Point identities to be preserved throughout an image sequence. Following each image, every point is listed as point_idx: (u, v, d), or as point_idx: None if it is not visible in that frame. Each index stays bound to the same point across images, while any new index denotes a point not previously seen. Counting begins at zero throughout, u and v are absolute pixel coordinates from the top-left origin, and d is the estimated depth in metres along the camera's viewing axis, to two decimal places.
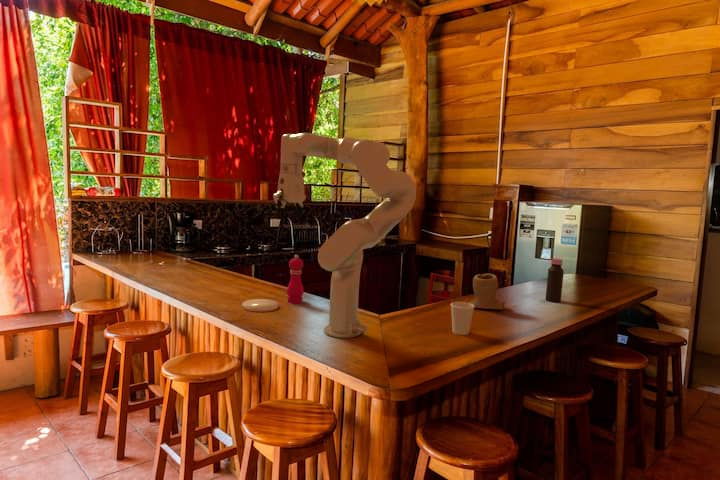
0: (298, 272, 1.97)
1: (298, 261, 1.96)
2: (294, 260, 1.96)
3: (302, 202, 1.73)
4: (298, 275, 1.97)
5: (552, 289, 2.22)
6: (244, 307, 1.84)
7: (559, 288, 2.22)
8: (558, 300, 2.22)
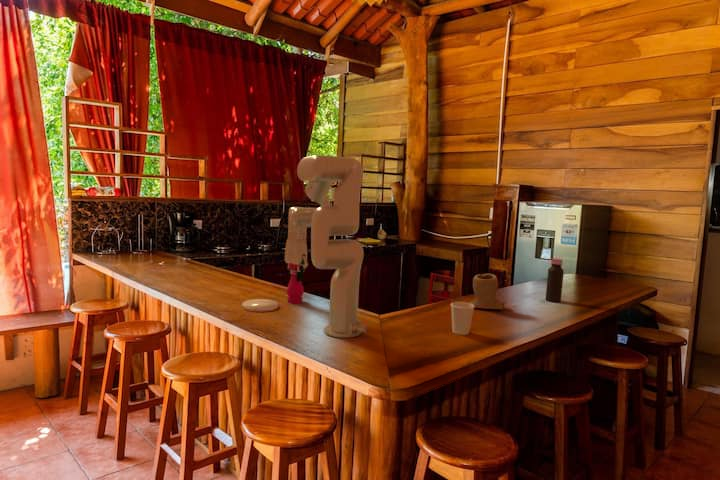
0: None
1: None
2: None
3: None
4: None
5: (552, 289, 2.22)
6: (244, 307, 1.84)
7: (559, 288, 2.22)
8: (558, 300, 2.22)
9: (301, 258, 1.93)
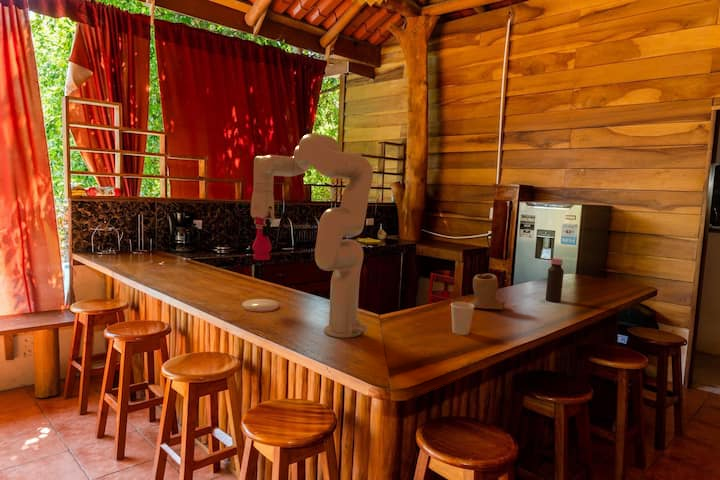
0: None
1: None
2: None
3: (267, 220, 1.81)
4: None
5: (552, 289, 2.22)
6: (244, 307, 1.84)
7: (559, 288, 2.22)
8: (558, 300, 2.22)
9: (267, 210, 1.80)
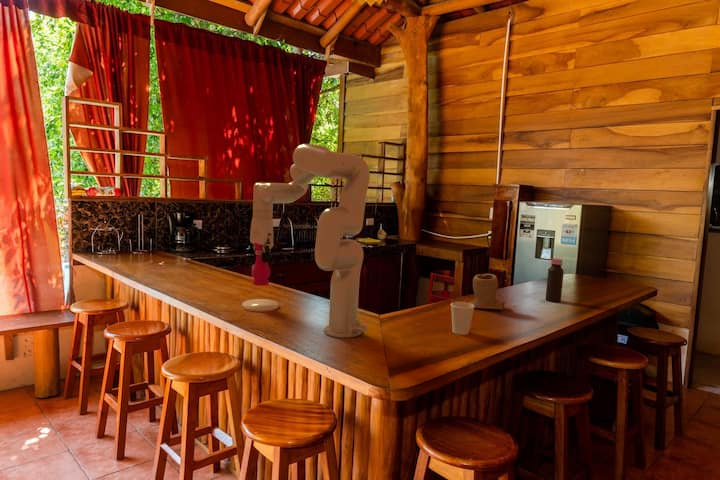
0: None
1: None
2: None
3: (266, 247, 1.82)
4: None
5: (552, 289, 2.22)
6: (244, 307, 1.84)
7: (559, 288, 2.22)
8: (558, 300, 2.22)
9: (266, 237, 1.81)
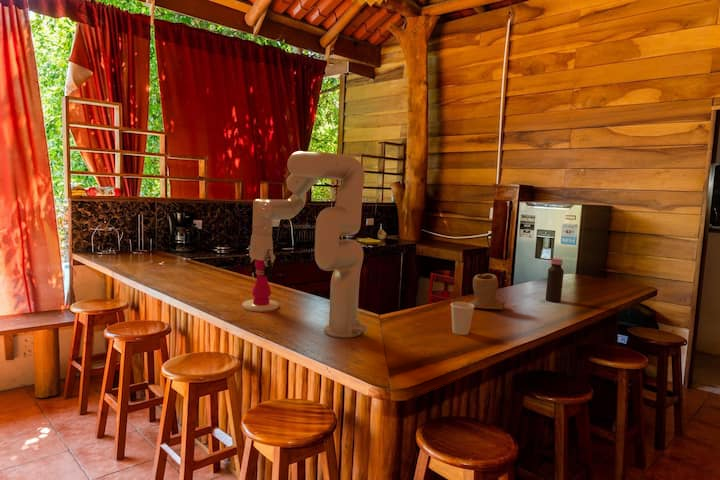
0: None
1: None
2: None
3: (268, 262, 1.81)
4: None
5: (552, 289, 2.22)
6: (244, 307, 1.84)
7: (559, 288, 2.22)
8: (558, 300, 2.22)
9: (266, 253, 1.82)
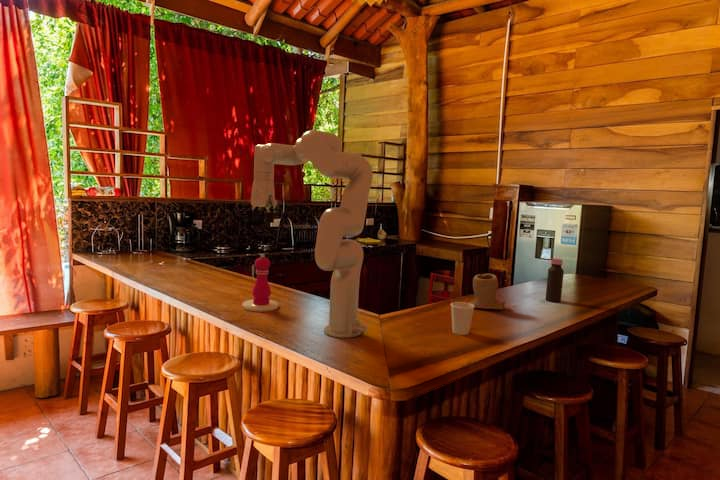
0: (264, 272, 1.84)
1: (264, 260, 1.84)
2: (260, 259, 1.84)
3: (270, 207, 1.79)
4: (264, 275, 1.85)
5: (552, 289, 2.22)
6: (244, 307, 1.84)
7: (559, 288, 2.22)
8: (558, 300, 2.22)
9: (268, 199, 1.79)
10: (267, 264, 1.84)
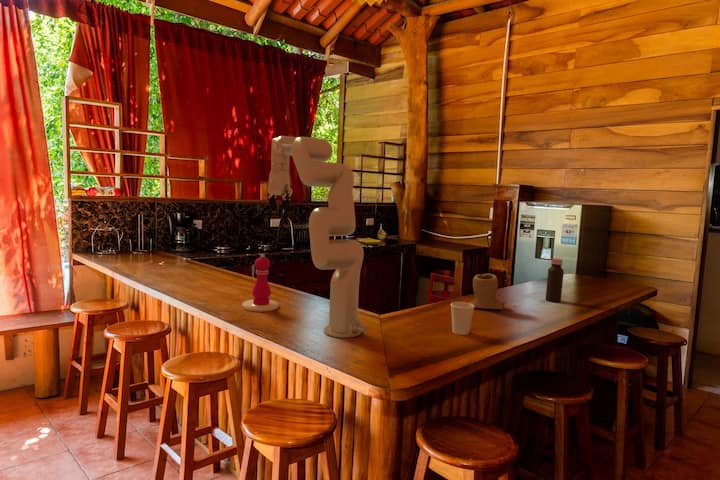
0: (264, 272, 1.84)
1: (264, 260, 1.84)
2: (260, 259, 1.84)
3: (286, 195, 1.95)
4: (264, 275, 1.85)
5: (552, 289, 2.22)
6: (244, 307, 1.84)
7: (559, 288, 2.22)
8: (558, 300, 2.22)
9: (284, 188, 1.95)
10: (267, 264, 1.84)
